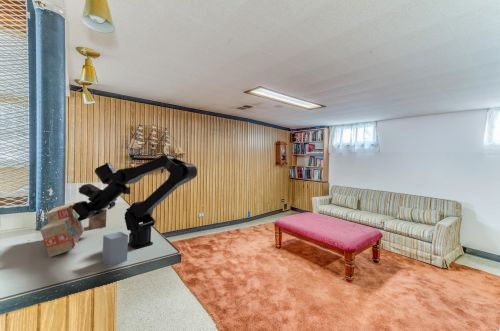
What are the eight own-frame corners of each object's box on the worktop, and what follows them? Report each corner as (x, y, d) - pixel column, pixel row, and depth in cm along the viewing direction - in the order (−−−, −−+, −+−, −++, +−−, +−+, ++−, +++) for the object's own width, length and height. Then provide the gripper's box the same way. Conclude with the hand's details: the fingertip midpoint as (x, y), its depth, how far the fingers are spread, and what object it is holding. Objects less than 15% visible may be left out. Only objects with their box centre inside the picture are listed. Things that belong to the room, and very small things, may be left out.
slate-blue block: (119, 256, 73) (120, 231, 73) (126, 260, 71) (128, 235, 70) (102, 261, 69) (103, 235, 69) (109, 266, 66) (110, 239, 66)
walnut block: (101, 224, 105) (101, 207, 105) (105, 226, 102) (106, 209, 102) (88, 226, 101) (89, 209, 101) (93, 229, 98) (93, 211, 98)
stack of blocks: (73, 249, 72) (61, 213, 70) (49, 258, 69) (35, 221, 67) (84, 230, 91) (74, 201, 89) (65, 236, 88) (55, 206, 86)
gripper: (109, 175, 95) (80, 200, 95) (79, 179, 77) (43, 210, 76) (127, 195, 96) (99, 219, 96) (102, 204, 77) (66, 234, 77)
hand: (78, 220), depth 86 cm, fingers closed
